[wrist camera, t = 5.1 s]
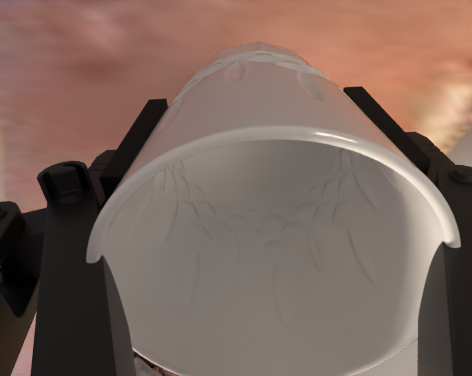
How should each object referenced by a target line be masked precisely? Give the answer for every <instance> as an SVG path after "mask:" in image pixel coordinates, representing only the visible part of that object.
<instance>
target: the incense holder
mask: <svg viewBox="0 0 472 376" xmlns="http://www.w3.org/2000/svg"><path fill="white" fill-rule="evenodd" d="M134 362H135V368H136V374H137V376H162V372H161V370H160V368H159V367H154V368H153V369H152V368H151V367H150V366H149V365H147V364H146V363H145V362H144V361H143V360H142V359H140V358H138V357H136V358H134Z"/></svg>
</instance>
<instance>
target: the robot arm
mask: <svg viewBox="0 0 472 376" xmlns="http://www.w3.org/2000/svg"><path fill="white" fill-rule="evenodd" d="M343 92H344V93H345V94H346V95H347V96H348V97H349V98H350V99H351V100H352V101H353V102H354V103H355V104H356V105H357V106H358V107H359V108H360V109H361V110H362V111H363V112H364V113H365V114H366V115H367V116H368V117H369V118H370V119H371V120H372V121H373V122H374V123H375V124H376V125H377V126H378V127H379V128H380V130H381V131H382V132H383V133H384V134H385V135H386V136H387V137H388V138H389V139H390V140H391V141H392V142H393V143H394V144H395V145H396V146H397V147H398V148H399V149H400V150H401V151H402V152H403V153H404V154H405V155H406V156H407V157H408V158H409V159H410V160H411V161H412V162H413V163H414V164H415V165H416V166H417V167H418V168H419V169H420V170H421V171H422V172H423V173H424V174H425V175H426V176H427V177H428V178H429V179H430V180H431V182H432V183H433V184H434V185H435V186H436V187H437V189H438V190H439V191H440V192H441V194H442V195H443V197H444V198H445V200H446V201H447V203H448V205H449V207H450V209H451V211H452V213H453V215H454V218H455V220H456V223H457V226H458V230H459V235H460V241H461V247H459V248H452V247H449V246H447V245H446V244H445V243H444V242H443V241H442V242H441V244H440V245H439V247H438V248H437V250H436V252H435V254H434V256H433V259H432V261H431V264H430V267H429V270H428V274H427V277H426V281H425V285H424V289H423V294H422V299H421V304H420V309H419V315H418V376H472V167H469V166H464V165H455V164H454V163H453V162H452V161H451V160H450V159H449V158H448V157H447V156H446V155H445V154H444V153H443V152H440V149H438V148H437V147H436V146H434V144H433V143H432V142H431V141H430V140H429V139H428V138H427V137H425V136H423V135H421V134H419V133H416V132H404V131H403V130H402V128H401V127H400V126H399V125H398V124H397V123H396V122H395V121H394V120H393V119H392V118H391V117H390V116H389V115H388V114H387V113H386V112H385V110H384V109H383V108H382V107H381V106H380V105H379V104H378V103H377V102H376V101H375V100H374V99H373V98H372V97H371V96H370V95H369V94H368V92H367V91H366V90H365V89H364V88H363V87H362V86H361V87H345V88H344V90H343ZM167 108H168V106H167V100H166V99H153V100H149V101H148V102H147V104H146V105H145V107H144V108H143V110H142V112H141V113H140V115H139V116H138V118H137V119H136V121H135V122H134V124H133V125H132V127H131V129H130V130H129V132H128V133H127V135H126V136H125V138H124V139H123V141H122V142H121V144H120V146H119V147H118V149H117V150H106V151H105V152H103V153H102V154H100V155H99V156H97V157H96V159H95V160H94V161H93V163H92V166H90V167H89V168H88V169H87V166H86V164H85V163H83V162H80V161H67V162H61V163H58V164H55V165H52V166H50V167H48V168H46V169H44V170H43V171H42V172H40V173H39V175H38V177H37V180H38V182H39V184H40V187H41V189H42V191H43V194H44V196H45V198H46V201H47V208H43V209H40V210H35V211H31V212H26V213H21V211H20V209H19V207H18V205H17V204H16V203H14V202H11V201H8V202H0V376H11V373H12V371H13V368H14V366H15V363H16V361H17V358H18V356H19V353H20V351H21V348H22V346H23V343H24V341H25V338H26V336H27V333H28V331H29V328H30V326H31V324H32V321H33V319H34V316H35V314H36V311H37V315H36V325H35V335H34V346H33V356H32V366H31V376H137V374H136V368H135V362H134V356H133V350H132V344H131V338H130V332H129V327H128V323H127V319H126V316H125V312H124V309H123V305H122V302H121V298H120V295H119V292H118V289H117V286H116V283H115V280H114V277H113V275H112V272H111V270H110V267H109V265H108V263H107V261H106V259H105V258H104V256H103V255H102V256H101V258H100V259H99V260H98V261H97V262H95V263H87V262H86V254H87V247H88V242H89V238H90V234H91V231H92V229H93V226H94V224H95V221H96V219H97V217H98V215H99V214H100V212H101V210H102V208H103V207H104V205H105V204H106V202H107V201H108V199H109V198H110V196H111V195H112V193H113V191H114V190H115V188H116V187H117V185H118V184H119V182H120V181H121V179H122V178H123V176H124V175H125V173H126V172H127V170H128V168H129V167H130V165H131V164H132V162H133V161H134V159H135V158H136V156H137V154H138V153H139V151H140V150H141V148H142V147H143V145H144V143H145V142H146V140H147V139H148V137H149V135H150V134H151V132H152V131H153V129H154V127H155V126H156V124H157V123H158V121H159V120H160V118H161V117H162V115H163V114H164V112H165V111H166V110H167Z"/></svg>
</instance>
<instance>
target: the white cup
mask: <svg viewBox="0 0 472 376" xmlns="http://www.w3.org/2000/svg"><path fill="white" fill-rule="evenodd" d="M442 241H443V242H444V243H445V244H446V245H447V246H449V247H452V248H459V247H461V241H460V235H459V230H458V226H457V223H456V220H455V218H454V215H453V213H452V211H451V209H450V207H449V205H448V203H447V201H446V200H445V198H444V197H443V195H442V194H441V192H440V191H439V190H438V189H437V187H436V186H435V185H434V184H433V183H432V182H431V180H430V179H429V178H428V177H427V176H426V175H425V174H424V173H423V172H422V171H421V170H420V169H419V168H418V167H417V166H416V165H415V164H414V163H413V162H412V161H411V160H410V159H409V158H408V157H407V156H406V155H405V154H404V153H403V152H402V151H401V150H400V149H399V148H398V147H397V146H396V145H395V144H394V143H393V142H392V141H391V140H390V139H389V138H388V137H387V136H386V135H385V134H384V133H383V132H382V131H381V130H380V128H379V127H378V126H377V125H376V124H375V123H374V122H373V121H372V120H371V119H370V118H369V117H368V116H367V115H366V114H365V113H364V112H363V111H362V110H361V109H360V108H359V107H358V106H357V105H356V104H355V103H354V102H353V101H352V100H351V99H350V98H349V97H348V96H347V95H346V94H345V93H344V92H343V91H342V89H341V88H340V87H339V86H337V85H336V84H335V83H334V82H332V81H331V80H330V79H329V78H328V77H327V76H326V75H325V74H324V73H322V72H321V71H319V70H318V69H316V68H314V67H312V66H311V65H310V64H309V63H308V62H307V61H306V60H305V59H304V58H303V57H301V56H300V55H299V54H298V53H297V52H296V51H294V50H290V49H286V48H282V47H279V46H275V45H271V44H267V43H264V42H260V41H258V42H254V43H249V44H244V45H240V46H235V47H231V48H226V49H222V50H221V51H220V52H218V53H217V54H216V55H215V56H213V57H212V58H211V59H210V60H209V61H207V62H206V63H205V64H204V65H202V66H201V67H200V68H199V69H198V70H196V71H195V72H194V73H193V74H192V76H191V78H190V80H189V81H188V82H187V84H186V85H185V86H184V87H183V88H182V89H181V90H180V92H179V93H178V94H177V95H176V97H175V98H174V100H173V101H172V103H171V105H170V106H169V107H168V108H167V110H166V111H165V112H164V114H163V115H162V117H161V118H160V120H159V121H158V123H157V124H156V126H155V127H154V129H153V131H152V132H151V134H150V135H149V137H148V139H147V140H146V142H145V143H144V145H143V147H142V148H141V150H140V151H139V153H138V154H137V156H136V158H135V159H134V161H133V162H132V164H131V165H130V167H129V168H128V170H127V172H126V173H125V175H124V176H123V178H122V179H121V181H120V182H119V184H118V185H117V187H116V188H115V190H114V191H113V193H112V195H111V196H110V198H109V199H108V201H107V202H106V204H105V205H104V207H103V208H102V210H101V212H100V214H99V215H98V217H97V219H96V221H95V224H94V226H93V229H92V231H91V234H90V238H89V242H88V247H87V254H86V262H87V263H95V262H97V261H98V260H99V259H100V258H101V256H102V255H103V256H104V258H105V259H106V261H107V263H108V265H109V267H110V270H111V272H112V275H113V277H114V280H115V283H116V286H117V289H118V292H119V295H120V298H121V302H122V305H123V309H124V312H125V316H126V319H127V323H128V327H129V332H130V338H131V344H132V350H134V351H135V352H136V353H138V354H139V355H141V356H142V357H144V358H145V359H147V360H148V361H150V362H152V363H154V364H155V365H157V366H159V367H161V368H163V369H165V370H168V371H170V372H172V373H174V374H177V375H180V376H354V375H357V374H359V373H362V372H364V371H367V370H369V369H371V368H373V367H375V366H377V365H379V364H381V363H383V362H385V361H387V360H388V359H390V358H392V357H394V356H395V355H397V354H398V353H400V352H401V351H403V350H404V349H406V348H407V347H408V346H409V345H411V344H412V343H413V342H415V341H416V340H417V339H418V315H419V309H420V304H421V299H422V294H423V289H424V285H425V281H426V277H427V274H428V270H429V267H430V264H431V261H432V259H433V256H434V254H435V252H436V250H437V248H438V247H439V245H440V244H441V242H442Z"/></svg>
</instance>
